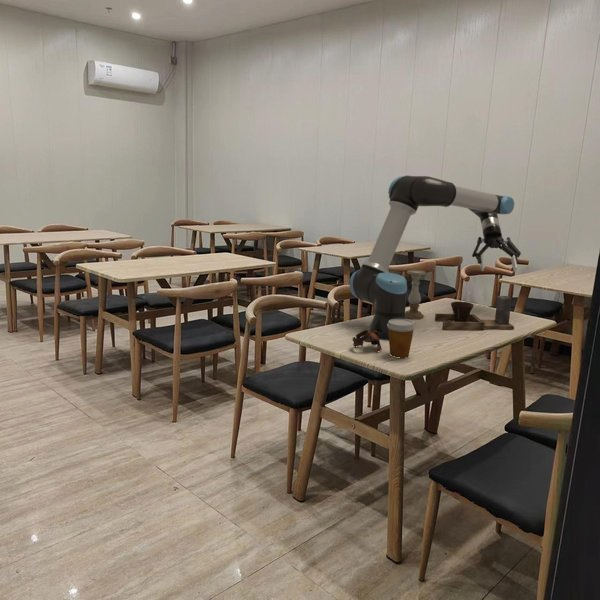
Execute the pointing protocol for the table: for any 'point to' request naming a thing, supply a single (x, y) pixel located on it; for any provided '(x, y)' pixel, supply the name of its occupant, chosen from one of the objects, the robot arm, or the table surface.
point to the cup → (461, 311)
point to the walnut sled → (477, 324)
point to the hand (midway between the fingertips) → (499, 269)
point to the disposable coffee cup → (400, 336)
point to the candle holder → (414, 296)
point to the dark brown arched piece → (367, 338)
